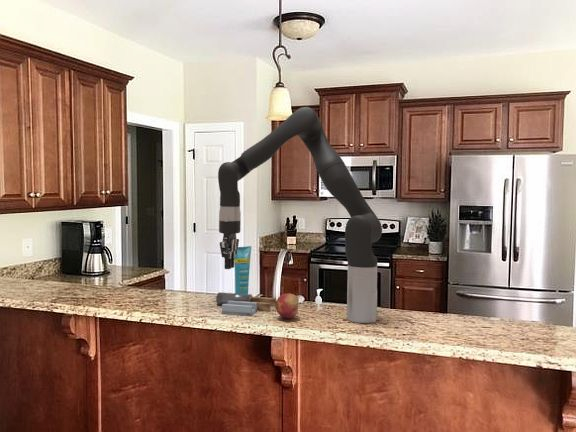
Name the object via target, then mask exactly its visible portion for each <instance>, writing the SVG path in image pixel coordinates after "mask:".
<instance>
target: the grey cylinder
mask: <svg viewBox="0 0 576 432" xmlns="http://www.w3.org/2000/svg"><path fill="white" fill-rule="evenodd" d="M253 297H254V296H253V295H252V294H249V293H248V294H237V293H235V292H234V293H233V292H217V294H216V299H215V300H216V305H217V306H222V305H223V304H227V302H228V301H248V302H253Z"/></svg>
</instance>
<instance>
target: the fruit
mask: <svg viewBox="0 0 576 432" xmlns="http://www.w3.org/2000/svg"><path fill="white" fill-rule="evenodd" d="M274 307H275V310H276V312H277V314H278V315H279V316H281V317H282V318H283V319H286V320H289V319H294V317H296V316H297V314H298V311H299V297H298V296H297V295H295V294H293V293H282V294H281V295H279V297H278V298H276V304H275V306H274Z"/></svg>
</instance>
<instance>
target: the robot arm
mask: <svg viewBox="0 0 576 432" xmlns="http://www.w3.org/2000/svg"><path fill="white" fill-rule="evenodd" d="M296 136H298V137H299V138H300V139H301V141H302V142H303V143H304V145H305V146H306V148H307V149H308V151H309V152H310V155H311V158H312V160H313V162H314V163H313V164H314V165H315V169H316V171H317V173H318V176H319V178H320V180H321V182H322V183H323V185H324V187H325V189H326V190H327V191H328V192H329V193H330V195H331V196H332V197H333V198H335V200H337V201H338V203H339V204H340V205H342V206H343V208H344V209H345V210H346V212H347V213H348V214H349V216H350V218H348V220H347V222H346V224H345V229H344V241H345V242H344V247H345V248H344V249H345V251H344V252H345V257H346V260H347V287H346V289H347V291H346V293H347V294H346V298H347V299H346V320H347V321H349V322H353V323H357V324H359V323H360V324H369V323H377V319H378V317H377V316H378V314H377V313H378V257H377V256H376V255H374V253H373V249H372V247H373V246H372V244H373V243H376V242H378V241H379V240H380V238H381V237H382V235H383V227H382V223H381V221H380V219H379V217H378V216H377V214H375V212H374V211H373V209H372V208H371V206H370V205H369V204H368V203H367V201H366V199H365V198H364V196H363V194H362V192H361V191H360V189H359V187H358V185H357V183H356V182H355V180H354V179H353V177H352V175H351V173H350V171H349V169H348V166H347V165H346V164H345V162H344V160H343V158H342V157H341V156H340V154H339V153H338V152H337V151H336V150H335V148H333V146H332V145H331V143H330V141H329V139H328V137H327V135H326V133H325V131H324V128H323V126H322V122H321V120H320V117H319V115H318V114H317V112H316V111H315V110H314V109H313V108H311V107H309V106H303V107H302V106H301V107H300V108H297V109H296V110H295V111H294V112H293V113H291V114H290V115H289V116H288V117H287V118H286V119H285V120H284V121H283V122H281V123H280V124H279V125H278V126H277V127H276V128H275V129H274V130H272V131H271V132H270V133H269V134H267V135H265V137H264V138H262V139H261V140H260V141H257V143H255V144H253V145H252V146H250V147H248V148H247V149H246V150H244V151H243V152H242V153H241V154H240V156H239V157H237V158H236V159H234V160H233V161H231V162H230V161H226V162H223V163H221V164H220V166H219V168H218V172H217V178H218V181H217V182H218V187H219V194H220V196H219V211H218V233H220V234H223V237H222V241H220V242H219V248H220V254H221V257H222V258H223V259H224V269H225V270H231V269H233V268H234V269H235V260H234V257H235V255H237V250H238V247H239V243H240V240H239V238H237V234H240V233H241V220H242V217H241V215H242V214H241V213H242V212H241V194H240V192H239V188H238V187H239V186H238V185H239V183H238V182H239V181H240V180H242V179H243V178H245V177H246V176H247V175H249V173H251V172H252V171H253V170H255V169H257V168H258V167H261V165H263V164H265V163H266V162H267V161H269V160H270V159H271V158H272V157H274V155H275V154H276V153H277V152H278V151H279V149H280V148H282V146H283V145H284V144H285V143H287V142H288V141H289V140H291V139H293V137H296Z"/></svg>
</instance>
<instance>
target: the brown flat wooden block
mask: <svg viewBox="0 0 576 432" xmlns="http://www.w3.org/2000/svg"><path fill="white" fill-rule="evenodd" d="M252 297H253V302H256V303H257V312H258V311H260V312H261V311H262V312H271V311H272V309H271V308H272V307H276V306H275V304H276V301H277V298H274V297H259V296H258V297H257V296H252ZM241 302H248V301H241Z"/></svg>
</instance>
